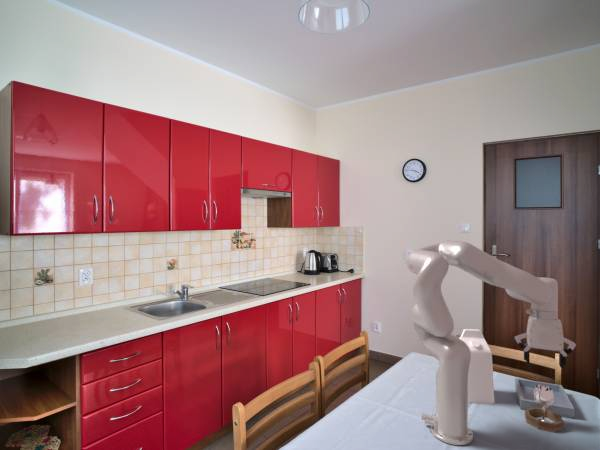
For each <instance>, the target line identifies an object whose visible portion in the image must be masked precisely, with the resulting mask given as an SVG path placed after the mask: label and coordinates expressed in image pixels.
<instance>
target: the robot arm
mask: <svg viewBox="0 0 600 450" xmlns="http://www.w3.org/2000/svg"><path fill="white" fill-rule="evenodd" d="M406 266H407V268H408V270H409V271H410V272H412V273H413V274H415V275H416V278H415V281H414V283H413V287H412V294H413V298H414V301H415V304H414V305H413V306H412V308H411V312H410V317H411V318H410V319H411V322H412V325H413V327H414V330H415V331H416V334H417V336H418V338H419V341H420V343H421V345H422V347H423V349H424V350H425V351H426V352H427V354H429V355H430V356H431V357H433V358H435V359H436V360H437V361H438V362H439V365H438V368H437V370H436V372H435V413H434V414H432V415H430V414H428V413H427V414H426V413H422V414H421V420H422V421H424V424H426V425H430V432H431V434H432V435H433V436H434V437H435V438H436V439H438V440H439V441H442V442H444V443H445V444H450V445H456V446H464V445H469V444H470V443H472V442H473V440H474V433H473V431H472V430H471V429H470V428H469V426H468V424H469V423H468V421H469V418H468V415H469V413H468V412H469V411H468V410H469V409H468V407H469V405H468V404H469V403H468V370H469V365H470V361H471V352H470V349H469V347H468V346H467V344H466V343H465V342H464V341H462V340H461V339H459V338H460V337H458V336H455V335H454V334H452V333H453V331H454V329H455V322H454V320H453V316H452V314H451V311H450V310H449V308H448V305H447V303H446V301H445V298H444V295H443V292H442V284H443V282H444V279H445V277H446V276H447V274H448V271H449V267H450V266H451V267H456V268H458V269H461V270H462V271H464V272H466V273H468V274H470V275H471V276H473V277H475V278H477V279H478V280H480V281H482V282H484V283H487V284H488V285H491V286H494V287H497V288H502V289H504V290H505V292H506V293H507V295H508V296H510V297H511V298H512V299H514V300H515V299H516V300H520V301H522V302H527V303H530V304H531V305H530V308H528V309H526V310H525V312H526V313H525V314H529V316H528V320H527V324H526V332H524V333H521V334H518V335H515V336H514V340H515V342H516V343H517V346H519V347H520V348H521V349H522V350H523V360H524V361H525V362H526V364H528V365H529V364H530V349H532V348H533V349H537V350H545V351H555V352H559V354H558V365H559V367H560V369H565V368H564V366H566V365H567V363H566V362H567V360H566V359H567V356H568V355H570V354H572V353H573V351H574V349H576V346H577V344H576V343H575V341H572V340H570V339H568V338H566V337H564V332H563V331H564V330H563V324H562V321H561V319H559V309H558V308H559V307H558V306H559V305H558V304H559V297H558V296H559V288H558V287H559V285H558V281H557V280H556V279H555V278H552V277H542V276H541V277H539V276H538V277H537V276H536V275H533V274H531V273H529V272H527V271H526V270H522V269H521V268H518V267H515V266H513V265H512V264H509V263H508V262H505V261H503V260H500V259H498V258H496V257H494V256H493V255H491V254H489V253H487V252H485V251H484V250H483V249H480V248H478V247H477V246H475V245H473V244H472V243H469V242H466V241H460V240H451V239H450V240H445V241H441V242H436V243H433V244H430V245H427V246H423V247H419V248H417V249H414V250H413V251H411V252H410V253H409V254H408V255H407V258H406ZM525 338H526V340H525V341H526V343H523V342H522V341H521V340H523V339H525ZM565 344H566V345H567V344H568V346H567V347H566V348H565V349H564V345H565Z"/></svg>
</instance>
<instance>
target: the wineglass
mask: <svg viewBox="0 0 600 450" xmlns="http://www.w3.org/2000/svg"><path fill="white" fill-rule="evenodd" d="M534 400H535V402H536V403H537V404H538V405H540V406H542V412H543V417H542V418H537V419H538V420H540V421H545V422H550V421H548V420H546V419H545V418H546V417H544V414H545V407H551V406H552V405H553V403H554V395H553V391H552V388H550V387H548V386H545V385H536V386H535V390H534Z"/></svg>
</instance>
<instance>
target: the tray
mask: <svg viewBox="0 0 600 450" xmlns="http://www.w3.org/2000/svg"><path fill="white" fill-rule="evenodd" d="M536 385H545V386H548V387H550V388H552V391H553V395H554V403H553V405H552V406H551V407H545V409H548V410H550V411H552V412H554V413H556V414H558V415H560V416H561V417H562V418H566V419H571V420H575V407H574V406H573V404H572V402H571V399H570V398H569V396H568V394H567V392H566V391H565V389H564V387H563V385H562V384H556V383H551V382H550V383H548V382H543V381H538V380H537V381H535V380H530V379H526V378H525V379H524V378H517V377H515V378H514V388H515V391H516V396H517V400H518V404H519V407H520V410H523V411H525V409H527V408H532V407H537V408H542V406H540V405H538V404H537V403H536V402H535V400H534V390H535V386H536Z"/></svg>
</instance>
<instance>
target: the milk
mask: <svg viewBox="0 0 600 450" xmlns="http://www.w3.org/2000/svg"><path fill="white" fill-rule="evenodd" d="M458 338H459V339H461V340H462V341H464V342H465V343H466V344H467V346H468V347H469V349H470V352H471V361H470V365H469V370H468V404H469V403H470V404H471V403H472V404H491V405H492V404H493V405H494V404H495V392H494V391H495V387H494V368H493V354H492V351H491V349H490V346H489V344H488V342H487V341H486V339H485V336H484V334H483V333H482V331H481V329H476V328H474V329H473V328H471V329H470V328H465V329H464V328H463V331H462V333H461V336H460V337H458Z"/></svg>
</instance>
